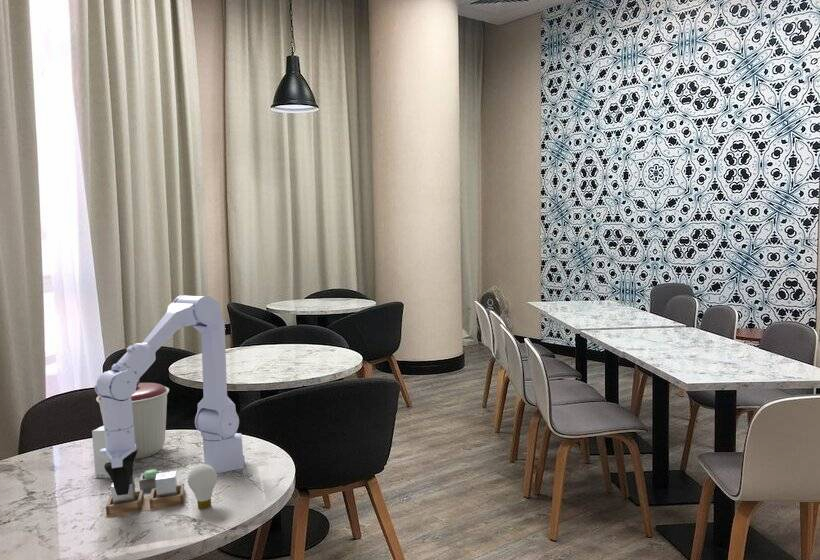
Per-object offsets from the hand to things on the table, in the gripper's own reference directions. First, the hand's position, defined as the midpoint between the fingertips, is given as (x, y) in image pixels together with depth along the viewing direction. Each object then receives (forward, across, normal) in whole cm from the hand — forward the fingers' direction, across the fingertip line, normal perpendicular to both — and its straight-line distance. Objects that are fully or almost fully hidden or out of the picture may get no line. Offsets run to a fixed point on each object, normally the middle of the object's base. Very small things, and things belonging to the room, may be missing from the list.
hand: (124, 489), depth 145 cm
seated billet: (+4, 0, +8) cm, 9 cm away
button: (+4, -10, +4) cm, 12 cm away
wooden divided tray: (+5, 0, +4) cm, 6 cm away
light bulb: (+5, +7, +16) cm, 18 cm away
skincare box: (+5, -25, -6) cm, 26 cm away
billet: (+4, 0, 0) cm, 4 cm away
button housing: (+5, -10, +4) cm, 12 cm away
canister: (+5, -39, -1) cm, 39 cm away
